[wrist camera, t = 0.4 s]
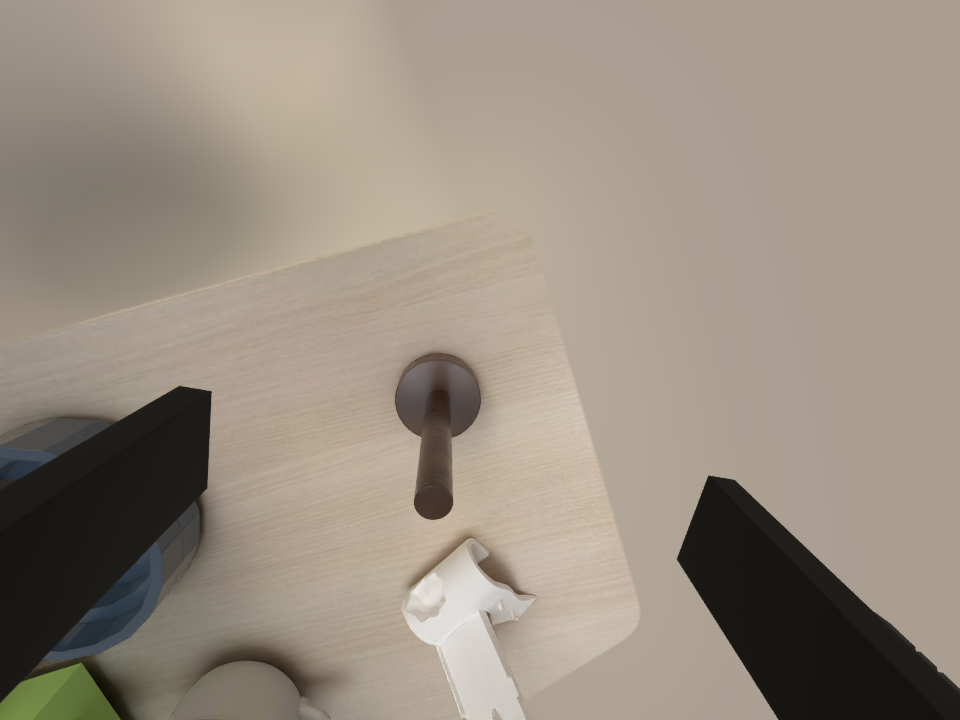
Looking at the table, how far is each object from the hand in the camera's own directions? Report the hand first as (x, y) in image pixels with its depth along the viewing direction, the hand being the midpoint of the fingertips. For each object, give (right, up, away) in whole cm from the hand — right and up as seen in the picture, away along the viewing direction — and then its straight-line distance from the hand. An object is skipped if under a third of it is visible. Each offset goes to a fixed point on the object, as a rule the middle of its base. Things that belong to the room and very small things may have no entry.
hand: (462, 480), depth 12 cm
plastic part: (0, -17, +30) cm, 34 cm away
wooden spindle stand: (-3, +1, +25) cm, 25 cm away
